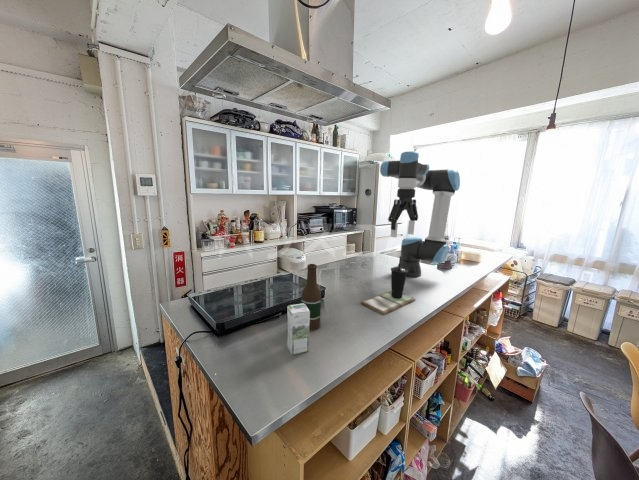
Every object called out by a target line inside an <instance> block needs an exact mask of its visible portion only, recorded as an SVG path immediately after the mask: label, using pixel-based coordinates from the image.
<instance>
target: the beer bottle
mask: <svg viewBox="0 0 639 480" xmlns="http://www.w3.org/2000/svg"><path fill="white" fill-rule="evenodd" d="M317 267H318V266H317V264H314V263H309V264H307V267H306V269H307V272H306V273H307V275H306V285H305V286H304V287H303V290H302V293H301V297H300V298H301V299H300V301H301V302H300V304H302V303H304V304H305V305H306V306H307V308H308V309H309V311H310V323H309V331H315V330H316V331H317V330H318V329H320V327H321V316H322V315H321V313H322V311H321V310H322V307H321V306H322V291H321V289H320V287H319V285H318V283H317V269H318V268H317Z"/></svg>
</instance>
